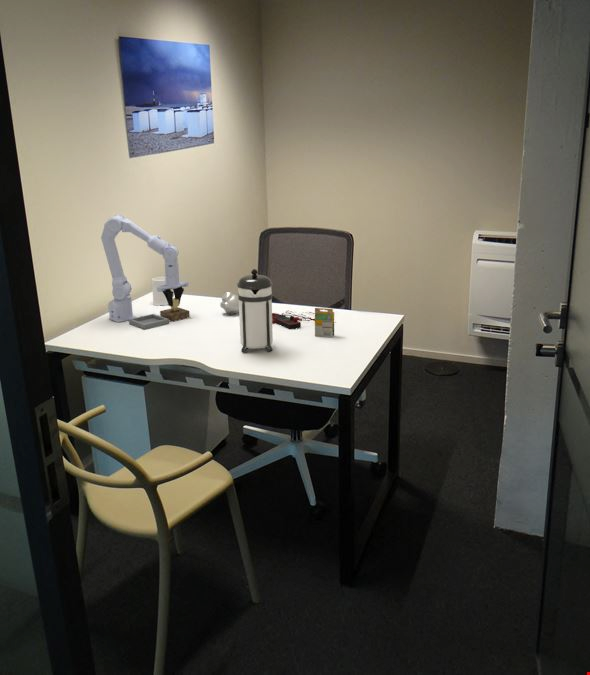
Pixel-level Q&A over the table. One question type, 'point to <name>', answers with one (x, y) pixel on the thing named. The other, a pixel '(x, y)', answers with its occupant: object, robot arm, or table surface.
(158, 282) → the mug
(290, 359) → the table surface
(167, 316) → the block
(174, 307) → the pin
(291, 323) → the digital clamp meter
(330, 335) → the crayon box
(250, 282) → the coffee press
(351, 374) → the table surface
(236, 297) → the white piggy bank
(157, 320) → the tray
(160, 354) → the table surface
